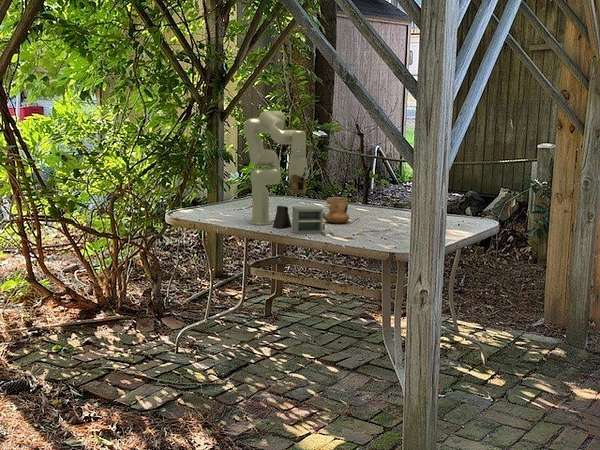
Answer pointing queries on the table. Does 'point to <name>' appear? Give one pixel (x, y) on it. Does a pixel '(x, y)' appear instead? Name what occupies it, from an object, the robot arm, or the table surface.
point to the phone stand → (282, 218)
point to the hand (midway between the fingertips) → (298, 189)
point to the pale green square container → (308, 220)
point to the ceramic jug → (337, 210)
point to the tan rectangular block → (296, 185)
